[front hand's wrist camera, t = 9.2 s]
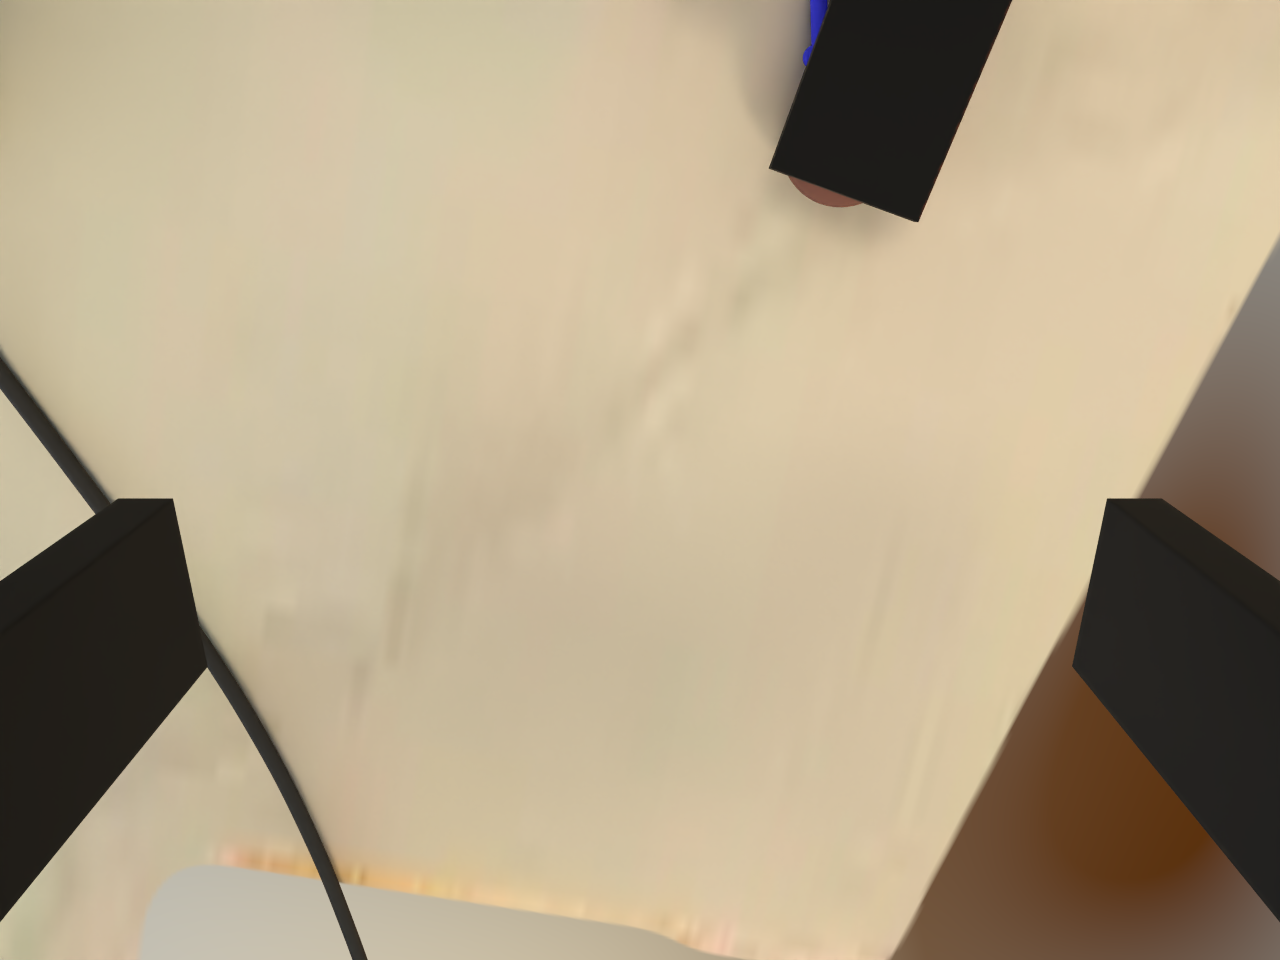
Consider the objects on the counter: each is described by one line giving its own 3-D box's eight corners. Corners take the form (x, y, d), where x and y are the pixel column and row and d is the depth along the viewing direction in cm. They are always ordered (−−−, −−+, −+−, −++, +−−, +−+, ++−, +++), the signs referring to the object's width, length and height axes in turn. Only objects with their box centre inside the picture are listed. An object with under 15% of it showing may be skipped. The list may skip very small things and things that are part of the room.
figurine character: (860, -194, 35) (737, 181, 39) (926, -308, 28) (767, 168, 32) (1012, -134, 36) (878, 229, 40) (1115, -229, 29) (939, 227, 32)
